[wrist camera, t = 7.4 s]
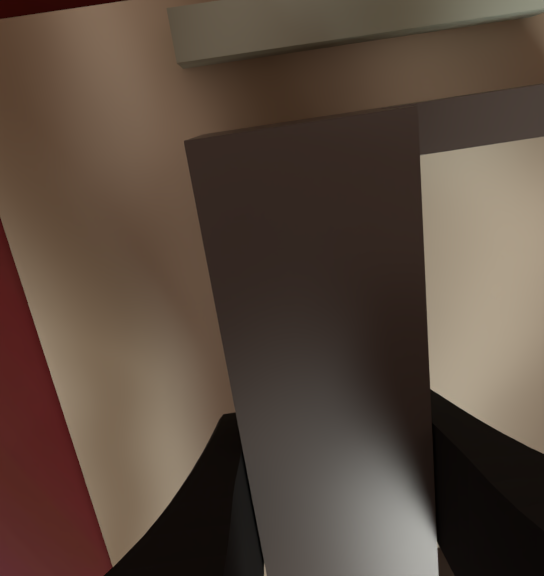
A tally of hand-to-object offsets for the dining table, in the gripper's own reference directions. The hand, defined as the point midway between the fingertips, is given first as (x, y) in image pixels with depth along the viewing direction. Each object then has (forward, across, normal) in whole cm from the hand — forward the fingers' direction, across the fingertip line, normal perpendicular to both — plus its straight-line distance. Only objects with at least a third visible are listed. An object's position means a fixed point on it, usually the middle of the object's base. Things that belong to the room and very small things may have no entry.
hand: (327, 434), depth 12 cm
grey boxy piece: (+2, -3, 0) cm, 3 cm away
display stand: (+4, 0, 0) cm, 4 cm away
